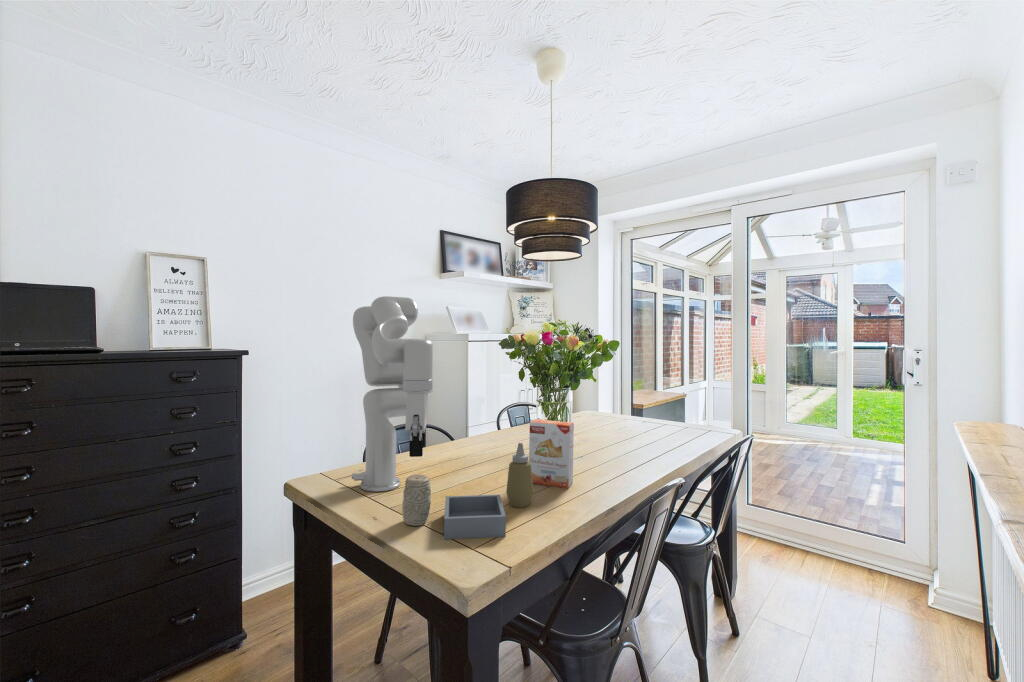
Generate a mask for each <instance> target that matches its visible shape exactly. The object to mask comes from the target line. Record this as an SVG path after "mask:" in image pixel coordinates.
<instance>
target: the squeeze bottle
mask: <svg viewBox="0 0 1024 682" xmlns="http://www.w3.org/2000/svg"><path fill="white" fill-rule="evenodd" d="M517 443H518V444H517V448H516V453H515V454H514V453H513V454H512V459H511V460H512V461H511V462H510V463H509V464H508V473H507V482H506V496H507V499H508V502H509V503H508V504H509V505H510V506H512V507H516V508H526V507H528V506H530V505H531V501H532V499H533V495H534V483H533V481H532V469H531V464H530V463H529V454H526V453H525V450H524V444H523V442H517Z"/></svg>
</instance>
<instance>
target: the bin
mask: <svg viewBox="0 0 1024 682" xmlns="http://www.w3.org/2000/svg"><path fill="white" fill-rule="evenodd" d="M443 518H444V519H443V520H444V523H443V529H444V530H443V540H455V539H456V540H457V539H463V540H464V539H478V538H479V539H482V538H483V539H484V538H503V537H505V538H506V535H507V531H506V529H507V527H506V525H507V523H506V522H507V516H506V512H505V508H504V504H503V501H502V496H501V495H500V494H479V495H478V494H477V495H476V494H475V495H451V496H450V495H449V496H445V504H444V517H443Z"/></svg>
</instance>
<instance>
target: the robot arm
mask: <svg viewBox="0 0 1024 682" xmlns="http://www.w3.org/2000/svg"><path fill="white" fill-rule="evenodd" d="M417 305H418V304H417V303H416V302H415V300H413V299H412V298H410V297H404V296H403V297H402V296H384V295H383V296H379V297H377V298H375V299H374V300H373V301H372V303H371V305H369V306H361V307H358V308H356V310H354V312H353V316H352V327H353V331H354V335H355V338H356V340H357V342H358V344H359V346H360V349H361V356H362V364H363V372H364V373H363V374H364V380H365V382H366V384H367V385H368V386H370V387H377V388H375V389H370V390H369V391H367V392H366V393H365V394H364V396H363V399H362V405H363V406H362V407H363V412H364V419H365V471H362V472H353V473H352V472H351V473H352V474H351V480H353V481H354V482H358V481H361V482H360V489H361V490H363V491H366V492H386V491H391V490H394V489H397V488H398V487H399V486H400V485H401V481H402V480H401V479H400V478H399V477H397V473H396V472H397V430H396V427H395V426H394V425H393V423H392V422H390V419H391V418H397V417H398V418H399V417H405V428H404V429H405V432H407V433H408V432H409V431H410V433H409V435H410V437H409V447H408V448H409V451H408V452H409V455H408V456H409V457H410V458H414V457H417V458H418V457H423V454H424V451H423V449H424V448H425V447H426V432H425V430H426V428H427V422H428V421H427V420H428V408H429V407H428V406H429V403H428V402H429V393H432V392H433V380H434V379H433V360H434V359H433V351H434V349H433V348H434V347H433V343H432V341H431V340H429V339H421V338H403V336H404V335H406V333H407V332H408V330H409V327H411V326H412V325H413V324H414V323H415V322H416V321H417V318H418V316H419V315H418V314H419V308H418V306H417ZM378 387H380V388H378ZM381 387H383V388H381ZM384 387H385V388H384ZM386 387H388V388H386Z"/></svg>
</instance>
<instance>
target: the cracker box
mask: <svg viewBox="0 0 1024 682" xmlns="http://www.w3.org/2000/svg"><path fill="white" fill-rule="evenodd" d="M574 425H575V423H574V422H570V421H560V420H559V421H558V420H550V419H549V420H548V419H537V418H535V419H532V420H531V421H530V422H529V437H528V438H529V440H528V441H529V443H528V444H529V446H528V447H529V449H528V452H529V453H528V462H529V463H530V464H531V469H532V481H533V484H538V485H543V486H551V487H555V488H556V487H557V488H562V489H570V487H571V486H572V484H573V481H574V479H573V478H574V477H573V475H574V435H575V434H574V432H575V431H574V429H575V427H574Z"/></svg>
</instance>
